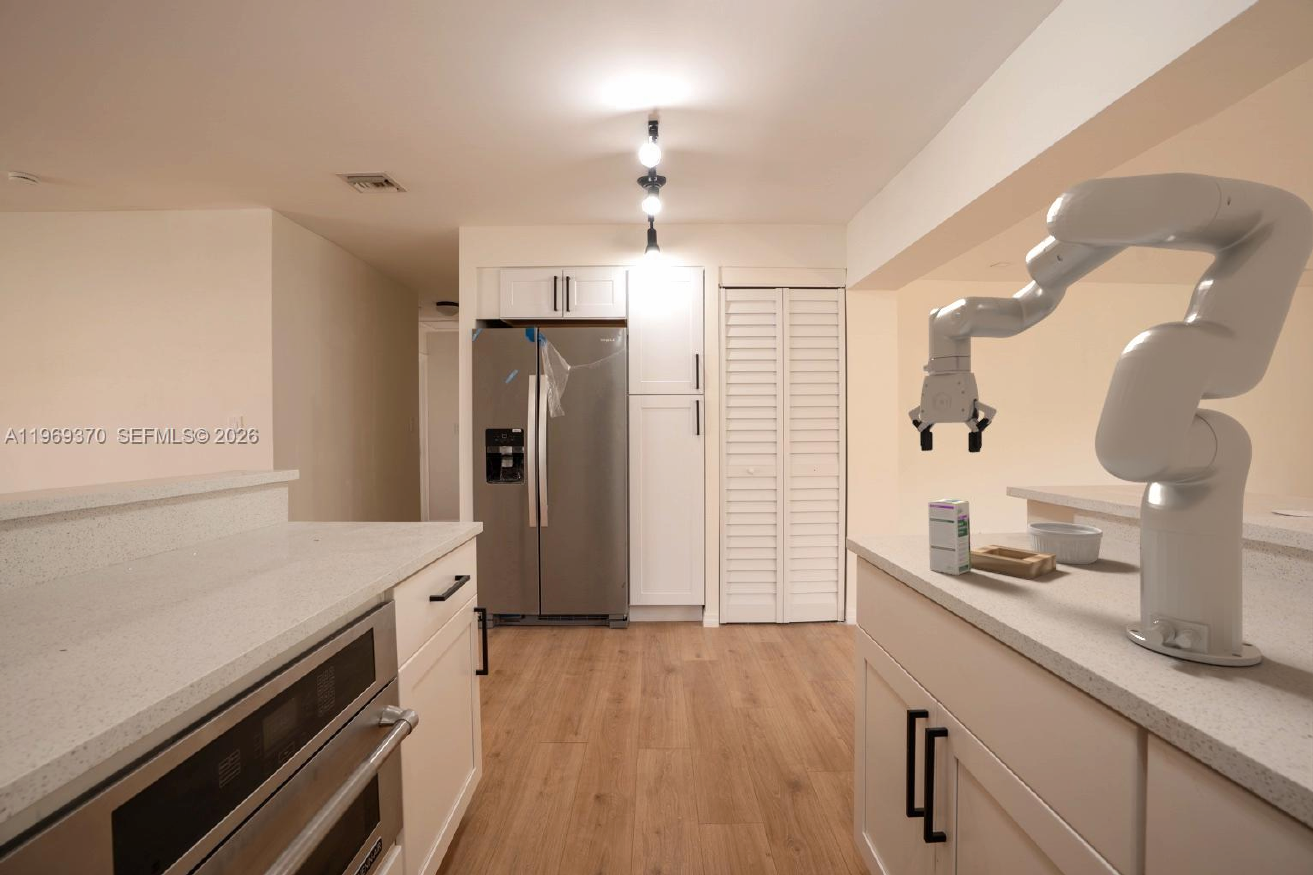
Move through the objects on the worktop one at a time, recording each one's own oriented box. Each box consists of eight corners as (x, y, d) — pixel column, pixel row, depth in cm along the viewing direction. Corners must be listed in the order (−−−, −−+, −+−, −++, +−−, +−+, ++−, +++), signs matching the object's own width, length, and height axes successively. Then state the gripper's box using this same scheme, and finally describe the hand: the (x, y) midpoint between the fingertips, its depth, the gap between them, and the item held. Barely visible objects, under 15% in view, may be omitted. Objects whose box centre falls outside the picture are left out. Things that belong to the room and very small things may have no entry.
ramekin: (1100, 569, 107) (1100, 535, 107) (1022, 559, 116) (1022, 528, 116) (1104, 557, 117) (1104, 526, 117) (1032, 549, 126) (1032, 520, 126)
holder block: (1029, 579, 101) (1029, 563, 101) (965, 566, 111) (965, 552, 111) (1056, 569, 108) (1056, 554, 108) (993, 557, 118) (993, 544, 118)
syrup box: (958, 576, 104) (957, 503, 104) (928, 570, 109) (927, 500, 109) (971, 571, 107) (970, 500, 107) (941, 565, 112) (941, 497, 112)
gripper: (899, 371, 113) (899, 450, 113) (984, 362, 98) (985, 453, 98) (919, 372, 117) (920, 449, 117) (1004, 364, 102) (1004, 452, 102)
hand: (949, 451), depth 108 cm, fingers open, 9 cm apart
